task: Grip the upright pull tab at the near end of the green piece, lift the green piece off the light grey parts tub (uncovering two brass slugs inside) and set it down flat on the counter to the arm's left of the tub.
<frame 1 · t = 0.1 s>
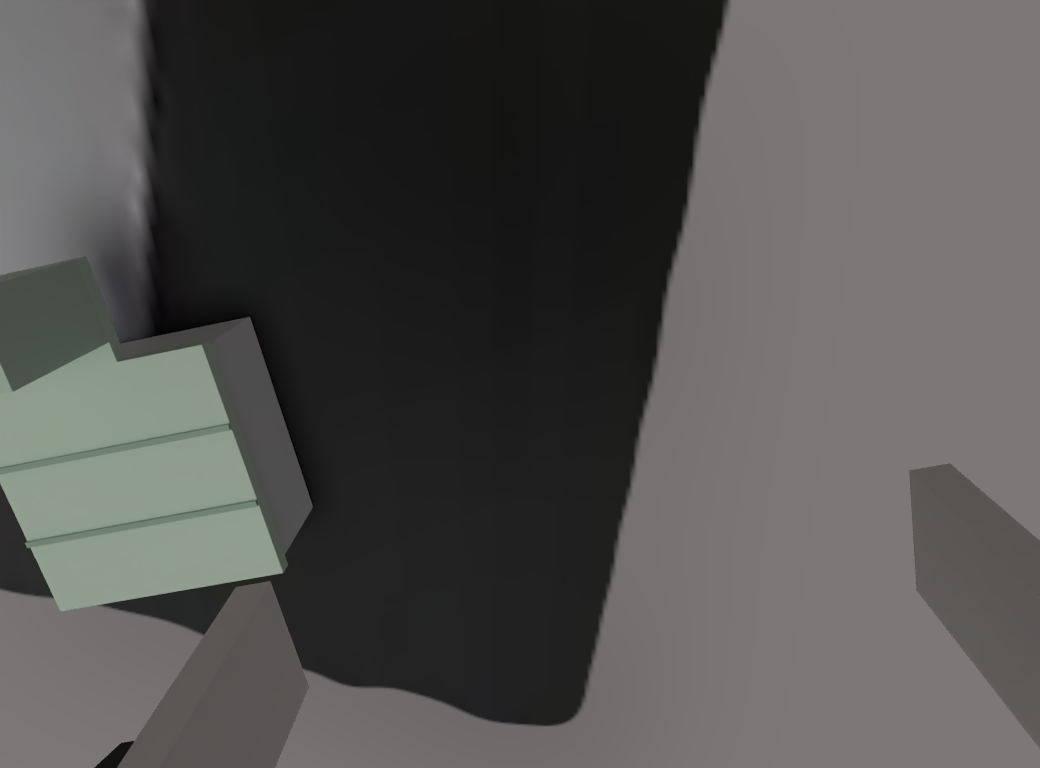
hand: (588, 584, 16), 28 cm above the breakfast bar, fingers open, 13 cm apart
green piece: (134, 479, 40), point 6 cm above the breakfast bar, touching tub
tub: (185, 434, 46), on the breakfast bar
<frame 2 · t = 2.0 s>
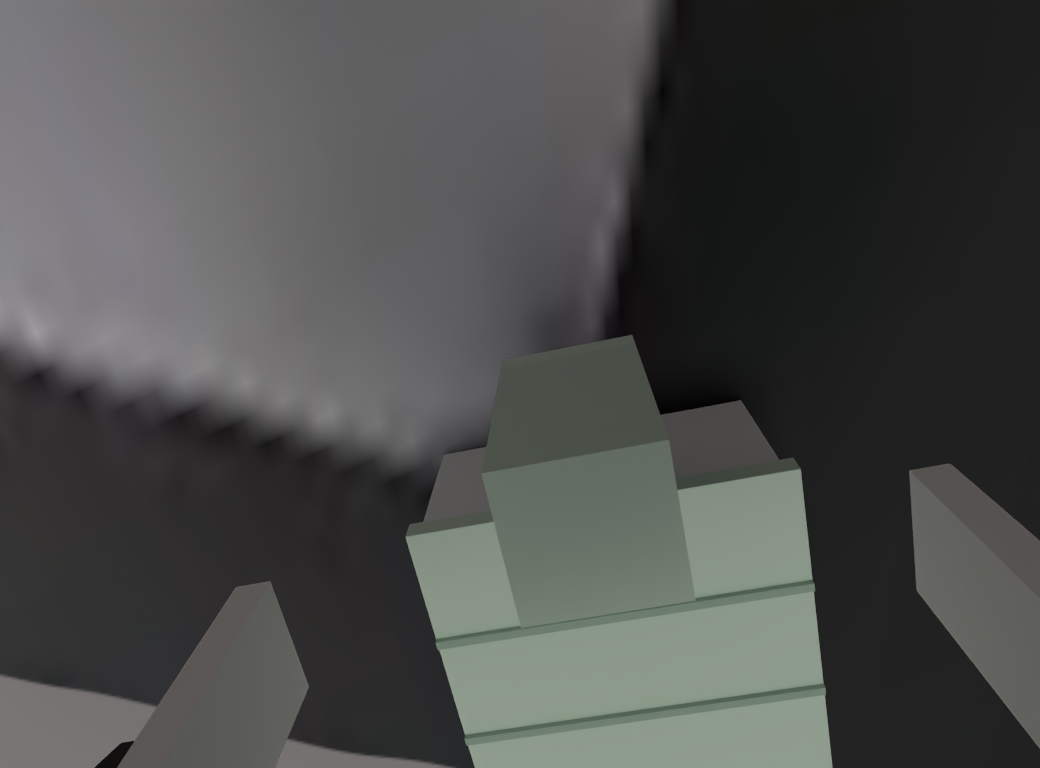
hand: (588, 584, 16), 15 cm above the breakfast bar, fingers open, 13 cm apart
green piece: (628, 649, 27), point 6 cm above the breakfast bar, touching tub
tub: (615, 556, 33), on the breakfast bar
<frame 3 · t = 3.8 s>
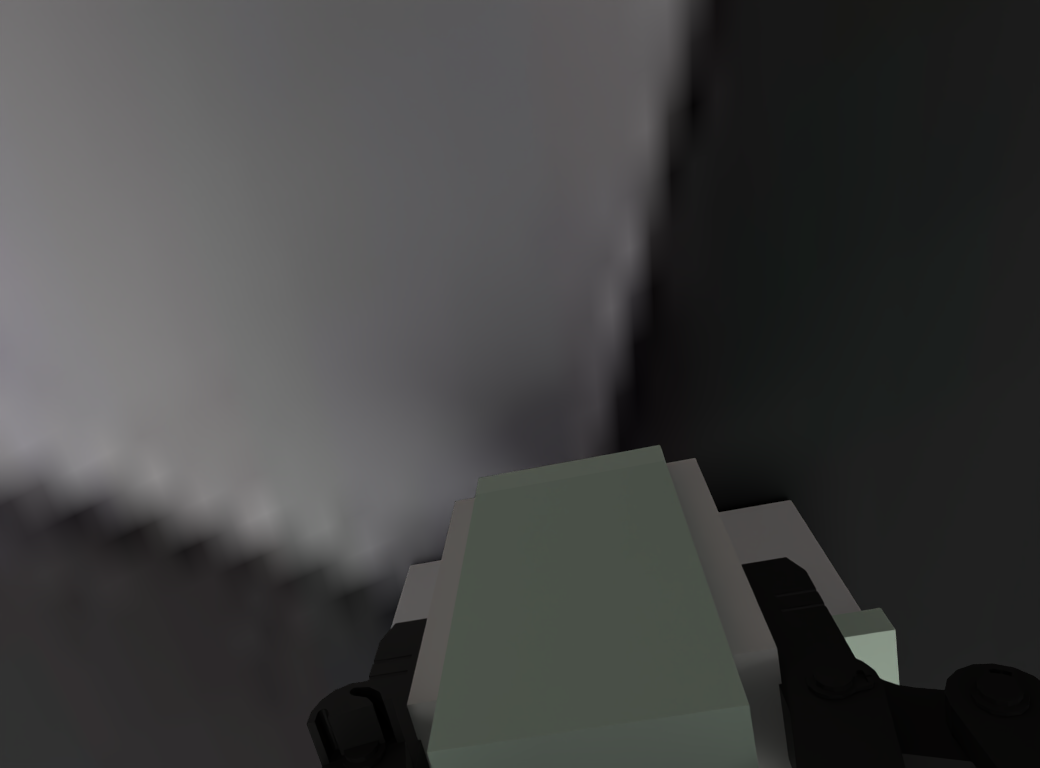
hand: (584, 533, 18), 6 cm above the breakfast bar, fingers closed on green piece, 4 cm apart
tub: (628, 688, 26), on the breakfast bar
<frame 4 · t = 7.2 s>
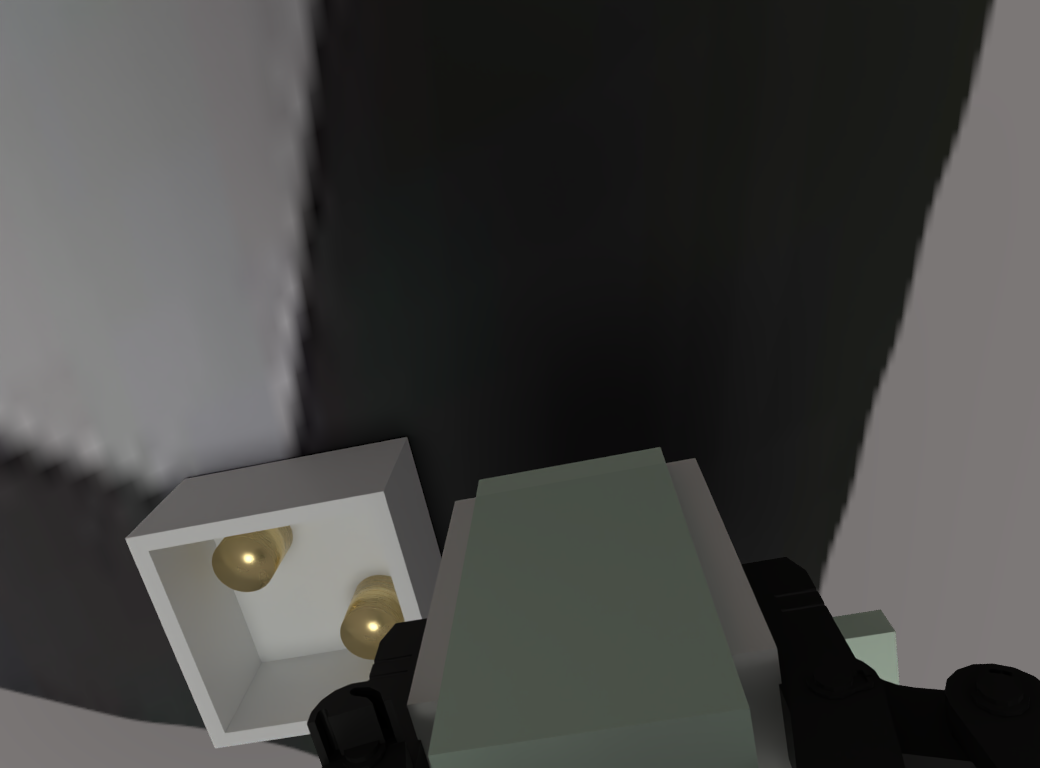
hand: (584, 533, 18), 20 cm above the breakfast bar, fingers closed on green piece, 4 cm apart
tub: (327, 558, 42), on the breakfast bar
slug a: (264, 533, 40), point 1 cm above the breakfast bar, touching tub
slug b: (382, 599, 41), point 1 cm above the breakfast bar, touching tub
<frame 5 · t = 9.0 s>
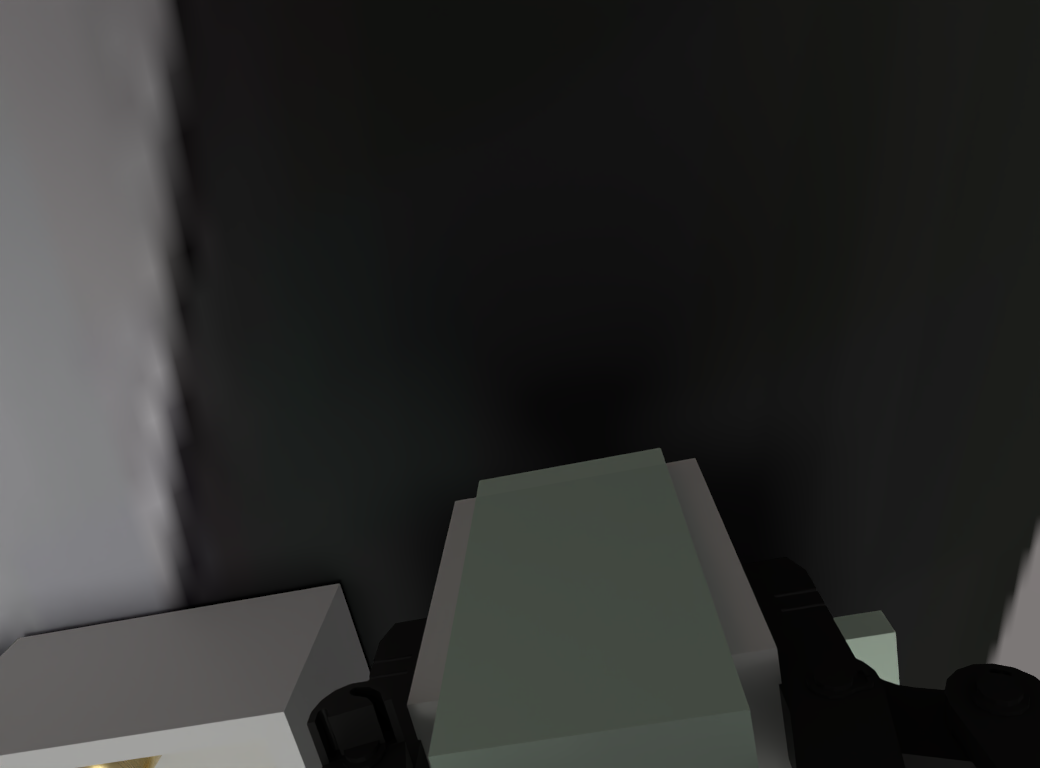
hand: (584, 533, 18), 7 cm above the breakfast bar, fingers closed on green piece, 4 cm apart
tub: (232, 744, 29), on the breakfast bar
slug a: (134, 717, 28), point 1 cm above the breakfast bar, touching tub
when the fingers open (2 cm above the breakfast bar, at t = 10.5 s): green piece drops 3 cm, on the breakfast bar.
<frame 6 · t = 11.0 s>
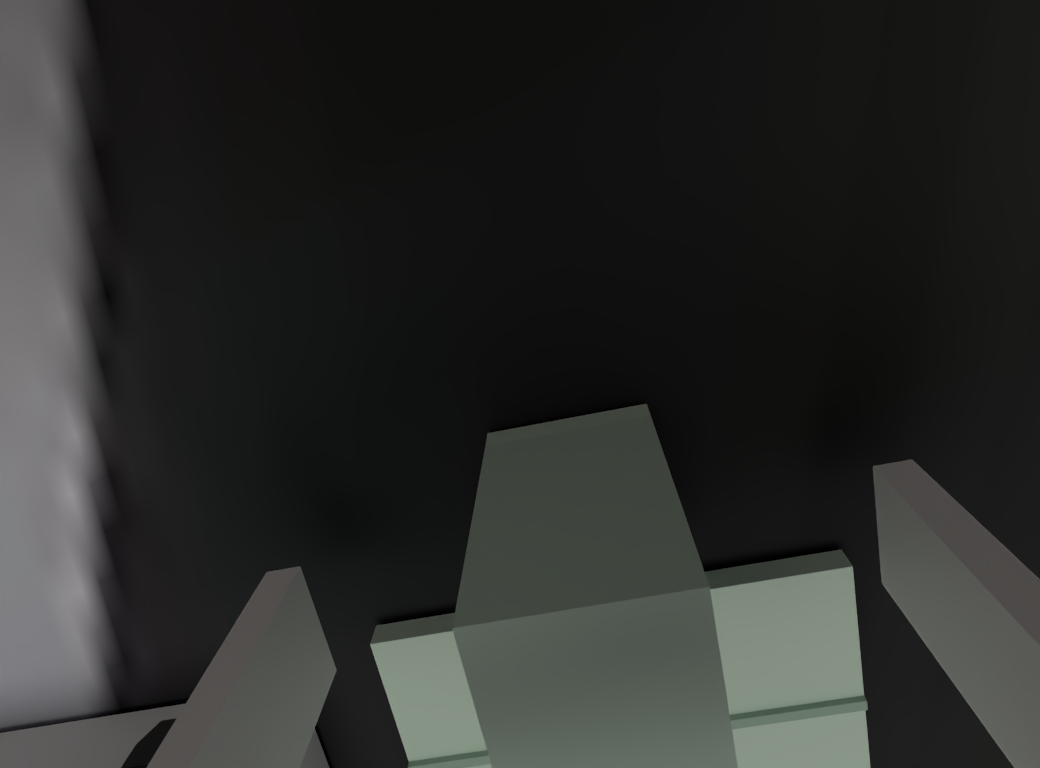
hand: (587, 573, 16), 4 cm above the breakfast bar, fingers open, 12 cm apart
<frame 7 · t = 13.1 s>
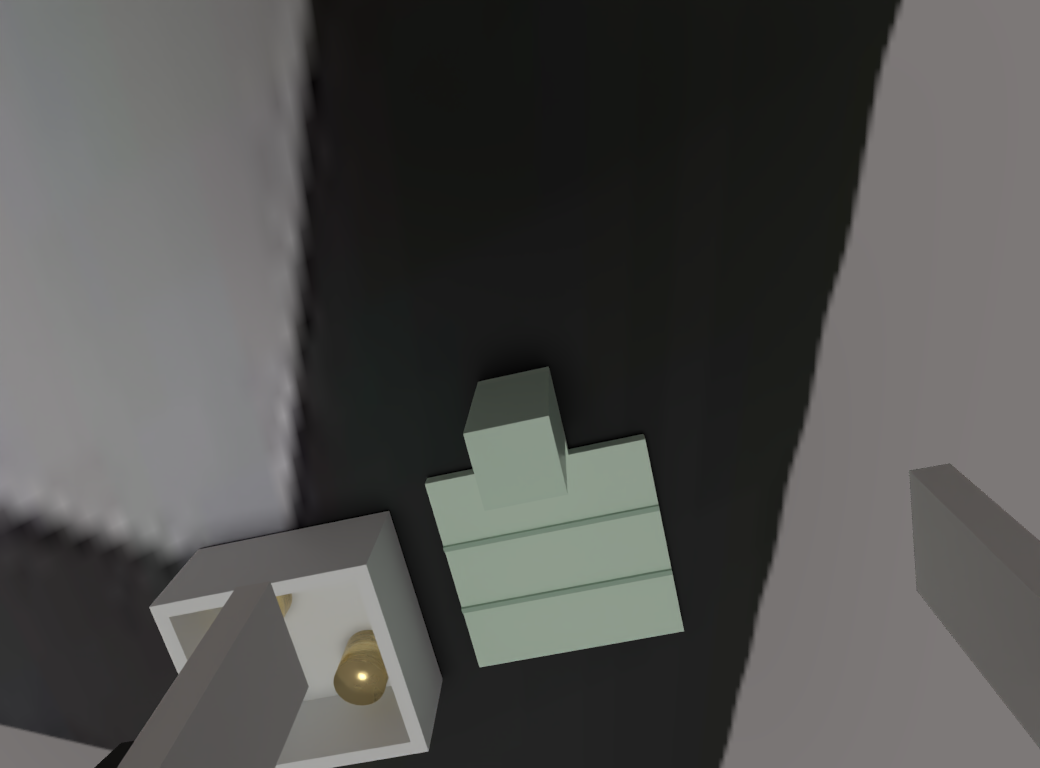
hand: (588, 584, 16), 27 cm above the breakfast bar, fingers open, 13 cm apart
green piece: (557, 552, 46), on the breakfast bar
tub: (323, 616, 48), on the breakfast bar
slug b: (370, 650, 48), point 1 cm above the breakfast bar, touching tub
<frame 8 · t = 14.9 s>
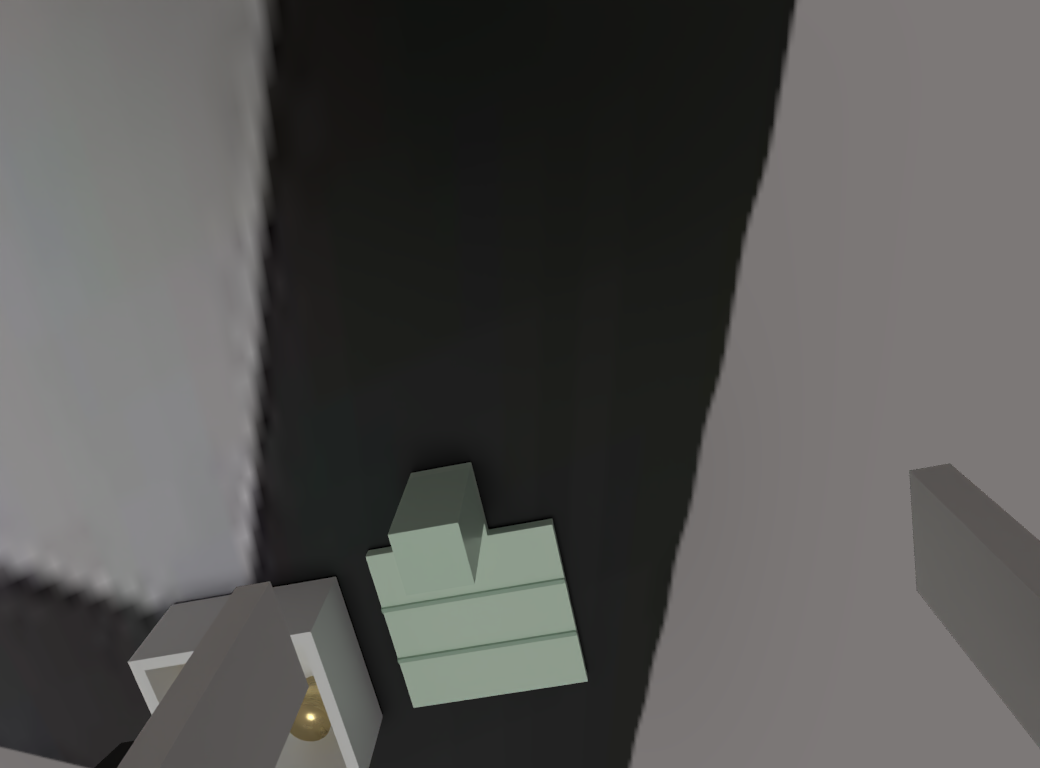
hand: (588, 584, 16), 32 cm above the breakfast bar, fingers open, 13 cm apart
green piece: (480, 613, 54), on the breakfast bar
tub: (279, 661, 56), on the breakfast bar
slug b: (320, 692, 55), point 1 cm above the breakfast bar, touching tub
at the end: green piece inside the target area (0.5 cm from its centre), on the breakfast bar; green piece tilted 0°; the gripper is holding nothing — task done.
